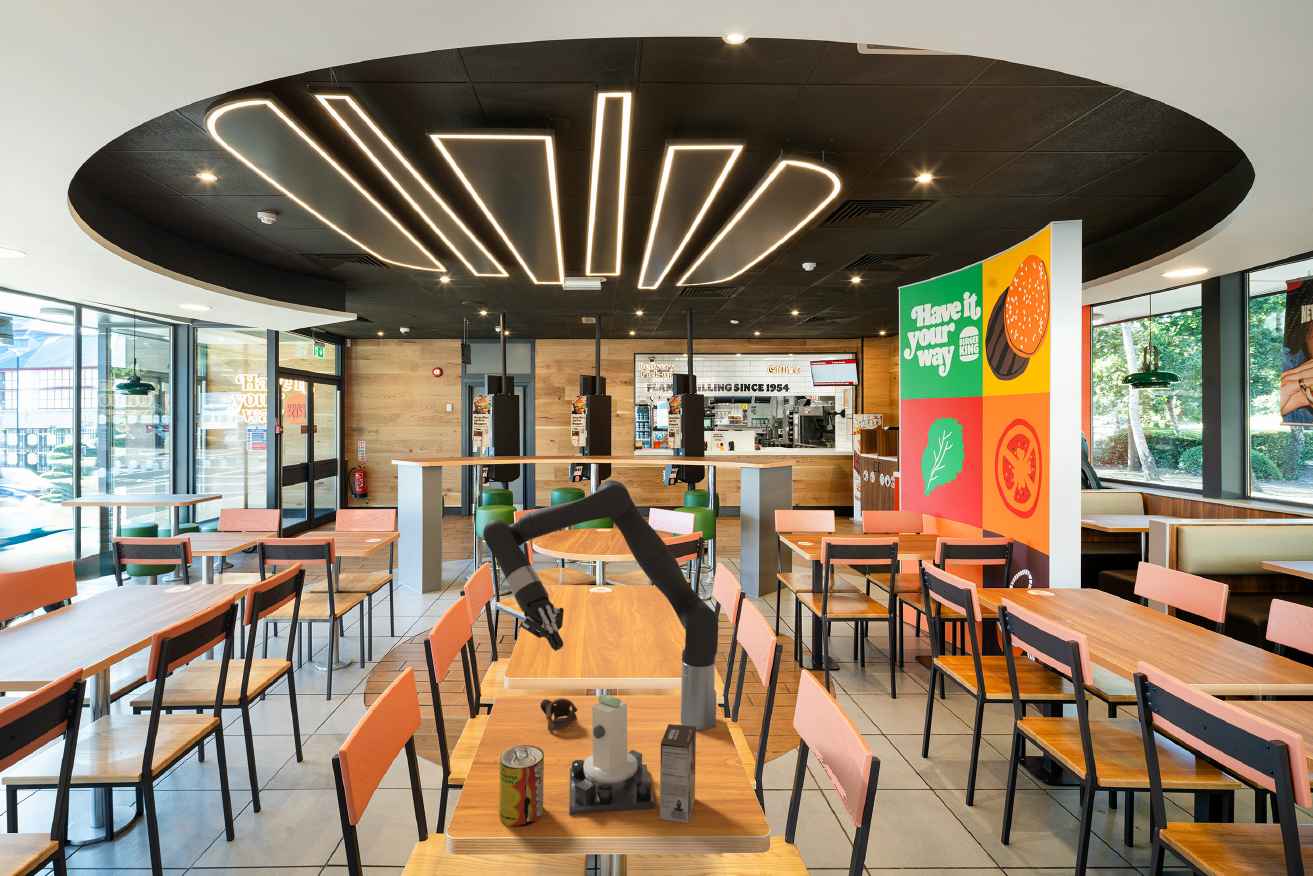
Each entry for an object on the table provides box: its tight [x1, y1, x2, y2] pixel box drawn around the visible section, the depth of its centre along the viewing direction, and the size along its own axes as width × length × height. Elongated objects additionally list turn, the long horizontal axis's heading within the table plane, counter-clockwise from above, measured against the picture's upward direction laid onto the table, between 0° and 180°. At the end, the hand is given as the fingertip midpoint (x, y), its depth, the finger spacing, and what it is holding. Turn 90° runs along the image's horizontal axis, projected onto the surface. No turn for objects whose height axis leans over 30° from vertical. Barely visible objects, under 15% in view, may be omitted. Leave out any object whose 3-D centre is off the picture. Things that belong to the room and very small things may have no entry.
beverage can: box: [498, 744, 545, 828], centre depth 127 cm, size 9×9×12 cm
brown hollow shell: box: [539, 697, 579, 734], centre depth 166 cm, size 12×10×8 cm
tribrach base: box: [568, 749, 655, 815], centre depth 135 cm, size 18×16×5 cm
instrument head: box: [583, 693, 637, 783], centre depth 136 cm, size 12×12×17 cm
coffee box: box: [659, 723, 697, 824], centre depth 129 cm, size 9×6×16 cm
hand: (559, 648), depth 147 cm, fingers closed
